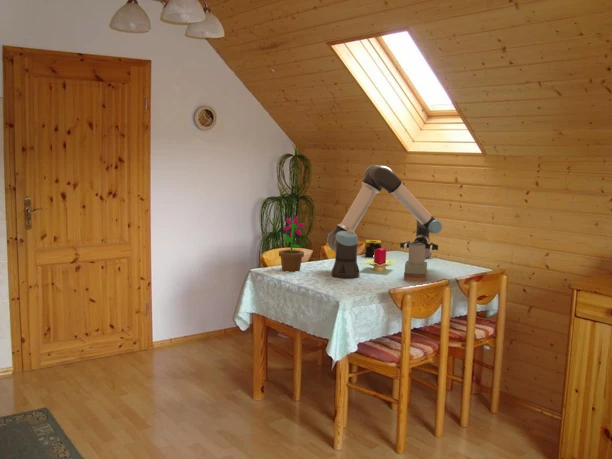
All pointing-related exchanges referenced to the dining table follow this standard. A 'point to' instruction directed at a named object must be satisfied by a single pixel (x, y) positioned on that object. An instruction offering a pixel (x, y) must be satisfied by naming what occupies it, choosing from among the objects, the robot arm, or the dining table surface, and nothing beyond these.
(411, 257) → the cup
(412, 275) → the tower bottom block
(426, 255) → the food item
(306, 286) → the dining table surface
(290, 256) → the flowerpot
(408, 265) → the tower top block
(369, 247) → the yellow black cube
